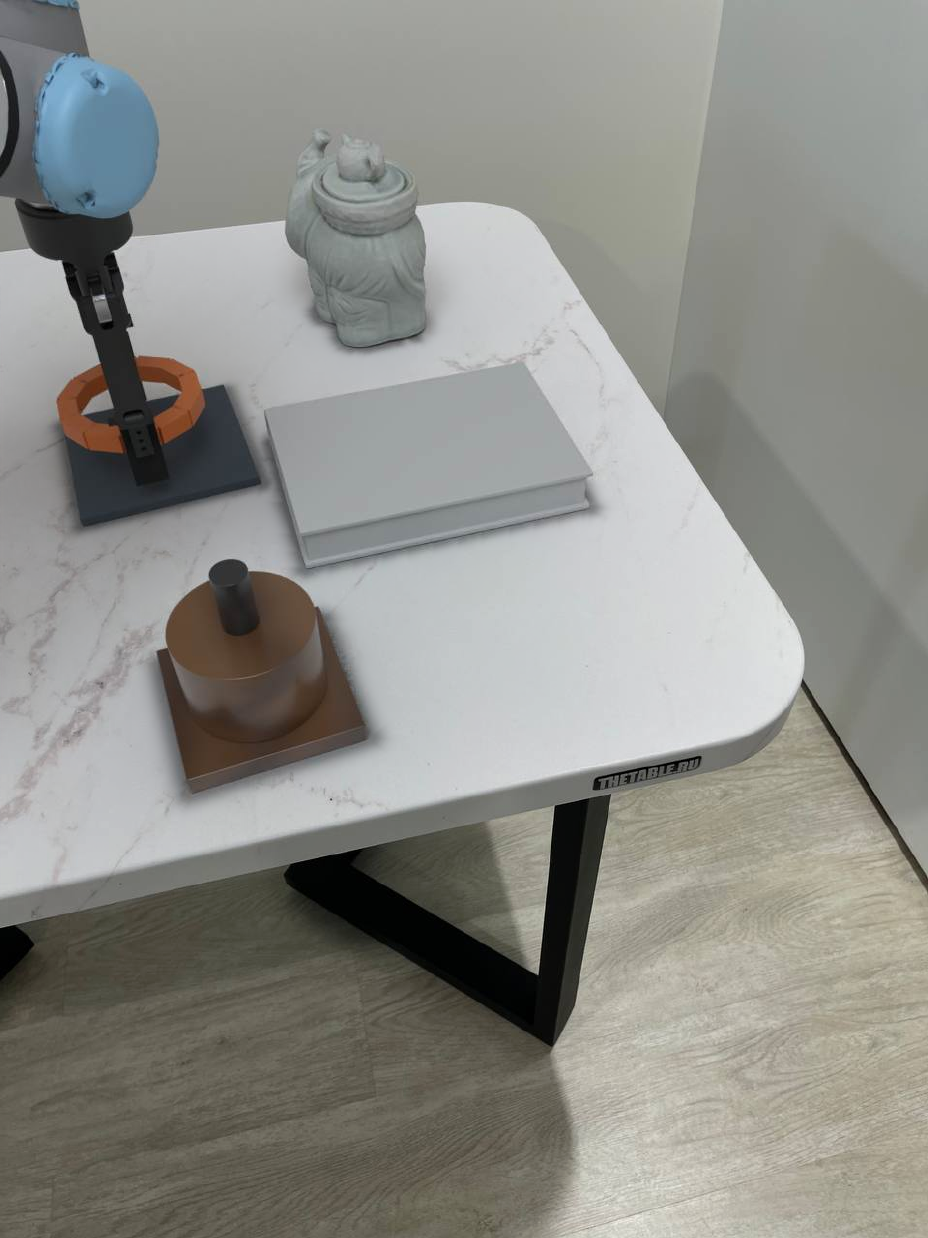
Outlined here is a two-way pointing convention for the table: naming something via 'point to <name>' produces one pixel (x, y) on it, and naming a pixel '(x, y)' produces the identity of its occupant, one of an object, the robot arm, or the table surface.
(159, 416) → the ring
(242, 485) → the mat
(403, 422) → the book
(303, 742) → the ring stand
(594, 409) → the table surface
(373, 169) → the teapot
